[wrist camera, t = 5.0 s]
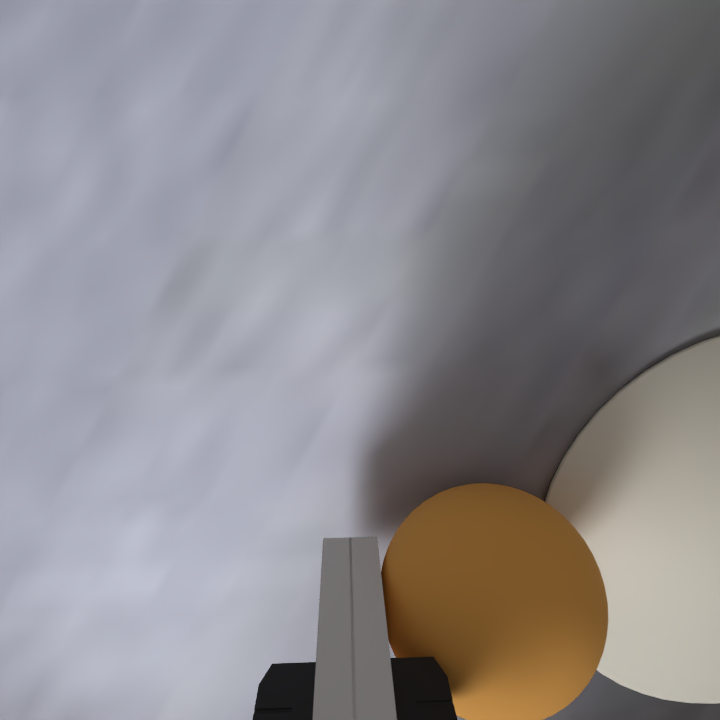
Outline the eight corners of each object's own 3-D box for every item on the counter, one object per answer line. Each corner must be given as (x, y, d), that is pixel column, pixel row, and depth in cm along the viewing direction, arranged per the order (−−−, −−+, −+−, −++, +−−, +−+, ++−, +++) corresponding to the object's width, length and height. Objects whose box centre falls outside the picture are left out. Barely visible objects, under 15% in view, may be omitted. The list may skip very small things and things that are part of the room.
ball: (434, 436, 16) (633, 478, 14) (429, 589, 18) (608, 656, 15) (336, 516, 12) (603, 603, 9) (338, 714, 13) (572, 844, 10)
